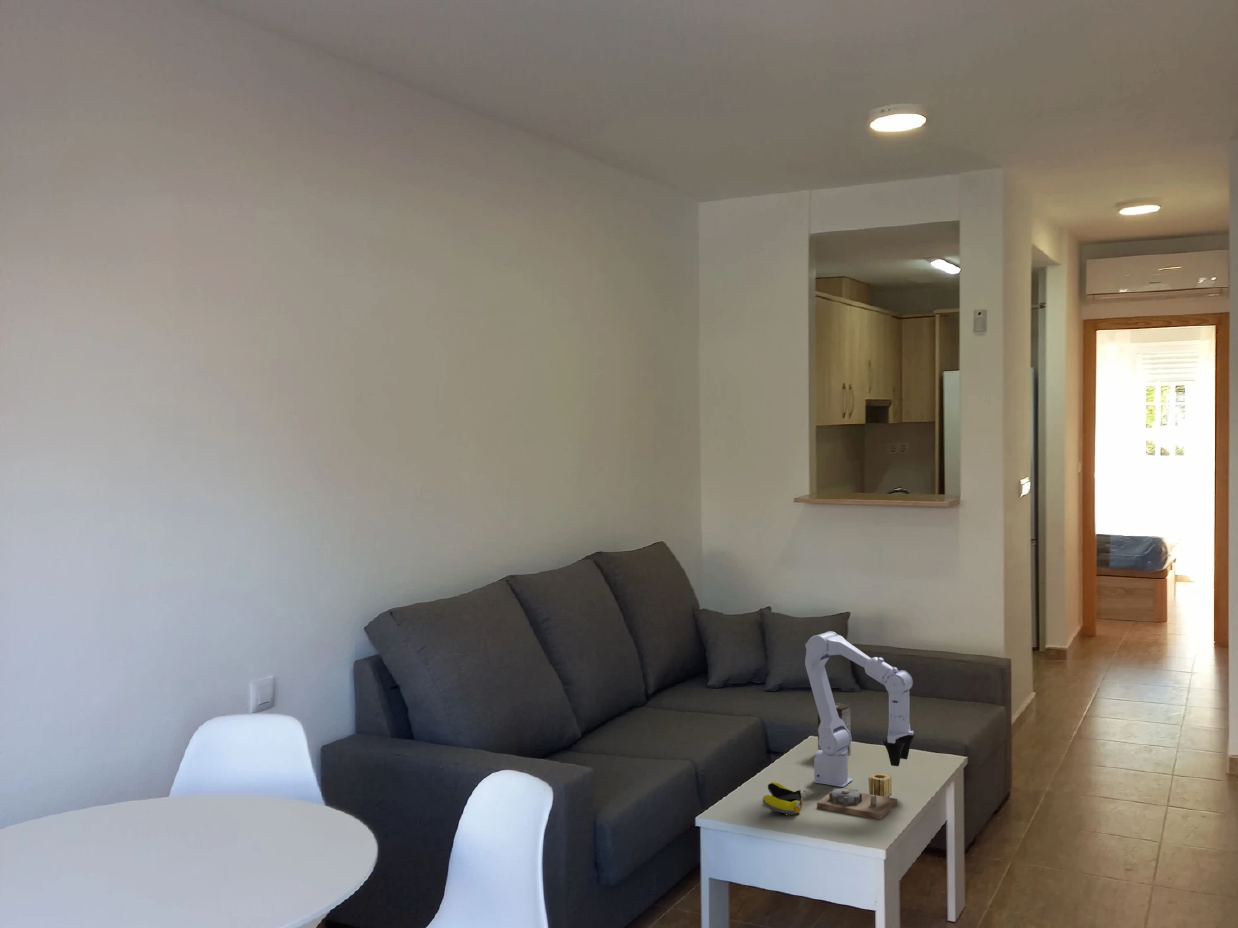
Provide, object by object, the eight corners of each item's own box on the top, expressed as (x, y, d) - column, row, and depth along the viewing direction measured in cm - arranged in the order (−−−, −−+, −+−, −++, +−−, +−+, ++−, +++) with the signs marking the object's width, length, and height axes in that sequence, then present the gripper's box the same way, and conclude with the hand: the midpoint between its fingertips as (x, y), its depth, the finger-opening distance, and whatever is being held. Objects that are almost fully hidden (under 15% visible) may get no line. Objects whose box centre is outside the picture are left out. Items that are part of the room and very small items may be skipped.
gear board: (817, 807, 298) (816, 793, 298) (835, 793, 310) (835, 779, 310) (880, 819, 289) (880, 803, 288) (897, 804, 300) (897, 789, 300)
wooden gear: (867, 795, 308) (867, 777, 308) (874, 789, 313) (873, 772, 313) (886, 798, 305) (886, 780, 305) (893, 792, 310) (892, 775, 310)
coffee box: (816, 753, 350) (816, 704, 350) (827, 749, 355) (826, 700, 354) (841, 758, 344) (841, 708, 343) (852, 754, 349) (851, 704, 348)
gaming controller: (761, 816, 292) (799, 819, 290) (761, 796, 292) (798, 799, 290) (768, 798, 307) (804, 801, 304) (768, 779, 307) (804, 781, 304)
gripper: (905, 722, 299) (905, 770, 299) (920, 710, 311) (920, 757, 312) (880, 718, 303) (880, 766, 303) (896, 707, 315) (896, 753, 315)
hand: (899, 762), depth 308 cm, fingers open, 7 cm apart
